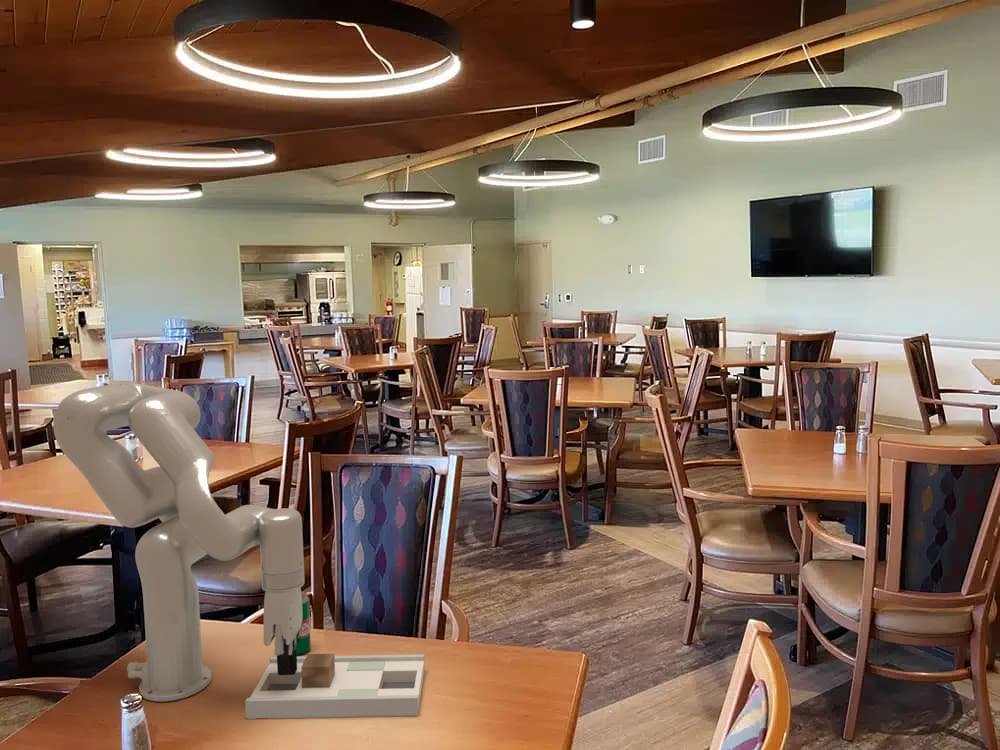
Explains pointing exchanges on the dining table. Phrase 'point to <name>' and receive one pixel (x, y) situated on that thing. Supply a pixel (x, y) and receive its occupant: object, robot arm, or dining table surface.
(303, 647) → the soda can
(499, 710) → the dining table surface
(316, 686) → the walnut block
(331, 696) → the box
